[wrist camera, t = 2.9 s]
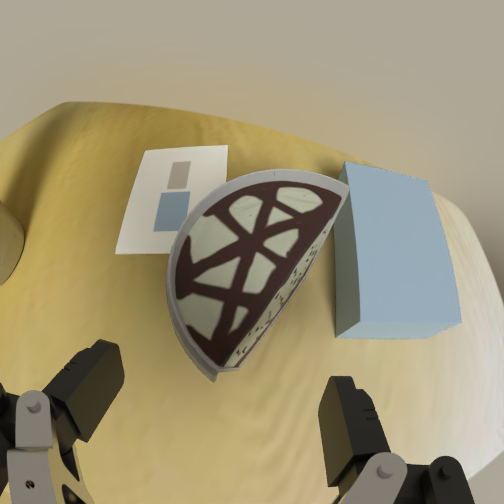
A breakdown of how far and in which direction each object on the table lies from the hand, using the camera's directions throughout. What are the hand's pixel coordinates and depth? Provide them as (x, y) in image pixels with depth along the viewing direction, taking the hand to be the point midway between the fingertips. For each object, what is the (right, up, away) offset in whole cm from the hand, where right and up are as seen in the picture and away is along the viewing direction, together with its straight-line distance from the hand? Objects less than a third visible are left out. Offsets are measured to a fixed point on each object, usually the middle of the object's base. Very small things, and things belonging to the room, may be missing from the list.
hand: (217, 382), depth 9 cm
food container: (0, +1, +12) cm, 12 cm away
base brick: (+13, +4, +14) cm, 19 cm away
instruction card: (-6, +11, +17) cm, 21 cm away
